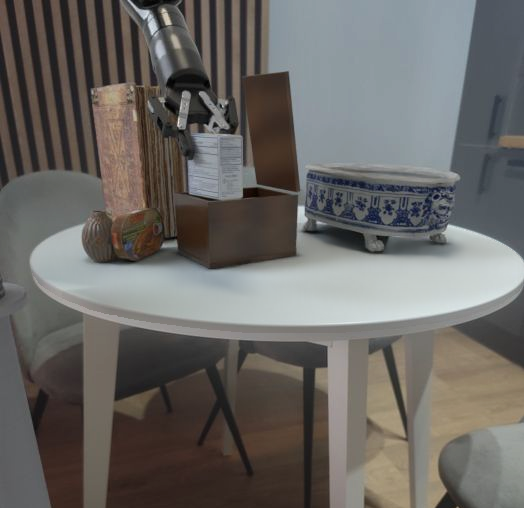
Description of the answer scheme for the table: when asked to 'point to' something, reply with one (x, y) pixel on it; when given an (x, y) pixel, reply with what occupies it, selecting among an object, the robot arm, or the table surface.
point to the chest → (236, 227)
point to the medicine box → (216, 166)
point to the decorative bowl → (380, 200)
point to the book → (135, 154)
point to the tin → (138, 234)
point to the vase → (98, 237)
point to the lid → (272, 130)
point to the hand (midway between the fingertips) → (210, 155)
